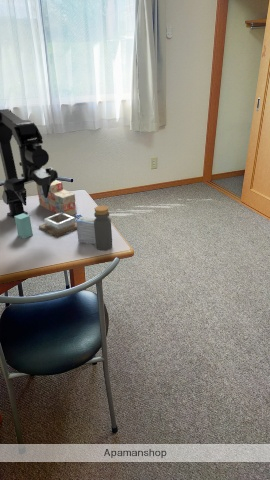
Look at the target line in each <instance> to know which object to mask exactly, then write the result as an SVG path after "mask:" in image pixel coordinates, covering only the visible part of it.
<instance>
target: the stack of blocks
mask: <svg viewBox="0 0 270 480" xmlns="http://www.w3.org/2000/svg"><path fill="white" fill-rule="evenodd" d="M35 183H36V182H35ZM35 186H36V190H37V195H38V203H39V205H40V206H41V207H43V208H45V209H46V210H48V211H50V212H52V213H55V214H58V213H60V212H62V213H65V214H67V215H70V216H71V215H72V216H74V215H73V214H75V215H77V206H76V205H77V204H76V195H75V193H72V192H71V191H68V190H66V189H64V187H63V182H61V181H59V180H57V179H55V181H53V182H52V183H51V185H50V188H49V193H48V197H47V198H45V197H44V194H43V190H42V186H39V185H38V184H37V183H36V185H35Z"/></svg>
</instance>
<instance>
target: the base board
mask: <svg viewBox="0 0 270 480" xmlns="http://www.w3.org/2000/svg"><path fill="white" fill-rule="evenodd" d="M60 222H62V220H61V221H59V222H56V223H60ZM75 224H76V221H75ZM38 227H39V229H40V230H42V231H44V232H46V233H48V234H50V235H52V236H55V237H57V238H59V237H62V236H63V235H64V236H65V235H66V234H69V233H71V232H73V231H75V230H77V225H73V226H71V227H68V228H66V229H64V230H61V231H59V232H58V231H55V230H53V229H51V228H49V227H47V226H45V223H43V224H40V225H39V226H38Z"/></svg>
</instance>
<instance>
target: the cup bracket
mask: <svg viewBox="0 0 270 480" xmlns="http://www.w3.org/2000/svg"><path fill="white" fill-rule="evenodd" d="M61 220H62V222H60V223H56V222H59V221H61ZM43 221H44V224H45V226H47V227H49V228H51V229H53V230H55V231H58V232H59V231H61V230H64V229H66V228H68V227H71V226H73V225H76V224H75V222H76V218H75V216H73V215H72V216H70V215H67V214H65V213H62V212H60V213H58V214H56V213H55V214H53V215H51V216H47V217H45V218H43Z"/></svg>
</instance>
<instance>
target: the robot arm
mask: <svg viewBox="0 0 270 480" xmlns="http://www.w3.org/2000/svg"><path fill="white" fill-rule="evenodd" d="M38 128H39V127H38V126H37V125H36V123H35V122H34V121H33V120H29V119H22V118H20V117H19V116H18V115H16V114H15V113H13V112H12V109H9V108H4V109H0V159H1V162H2V167H3V172H4V176H5V177H4V178H5V180H4V182H3V184H2V185H3V186H2V187H3V192H2V195H1V196H2V197H1V198H2V201H3V203H5V204H6V205H7V206H8V209H9V212H7V213H6V215H7V216H10V217H11V218H13V219H15V218H14V216H17V215H20V214H23V213H24V214H27V215H29V214H28V211H25V210H24V209H25V208H24V206H27V189H26V186H25V185H26V184H30V183H33V182H35V183H37V184H38V185H39V186H42V190H43V194H44V197H45V198H47V197H48V193H49V188H50V185H51V183H52V182H53V181H55V180H57V179H58V178H59V175H58V172H57V170H55V169H54V168H53V167H52V166H50V167H46V168H43V167H44V166H46V165H47V164H48V162H49V160H50V155H49V153H48V151H46V149H43V146H42V145H41V144H44V142H43V141H44V140H43V136H42V134H41V132H40V130H39V129H38ZM12 138H14V139H15V142H16V144H17V145H18V151H19V157H20V161H19V167H20V166H21V168H22V173H20V175H21V177H22V179H19V176H18V174H17V167H16V164H15V159H14V154H13V150H12V145H11V144H12V143H11V140H12Z"/></svg>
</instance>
